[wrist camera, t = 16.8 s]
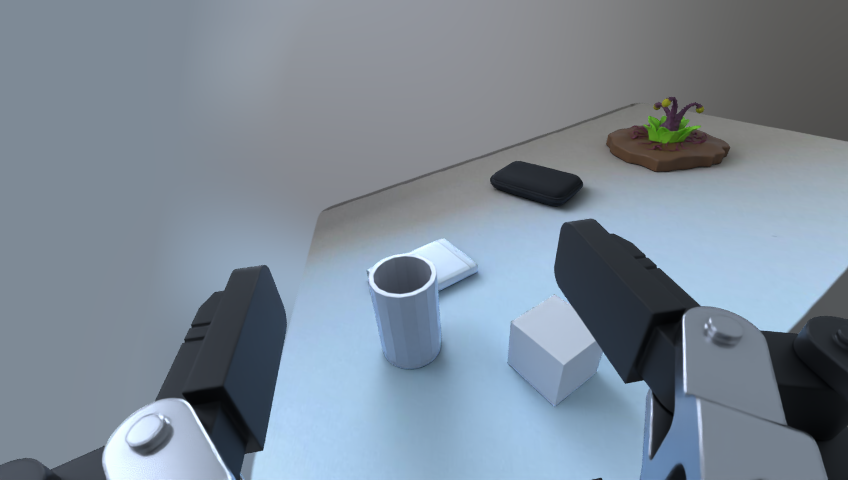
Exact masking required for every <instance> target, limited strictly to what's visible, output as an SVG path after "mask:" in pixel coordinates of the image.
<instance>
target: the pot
mask: <svg viewBox="0 0 848 480" xmlns="http://www.w3.org/2000/svg"><path fill="white" fill-rule="evenodd" d="M368 278H369V287H370V292H371V297H372V302H373V306H374V311H375V316H376V321H377V326H378V331H379V336H380V340H381V345H382V350H383V353H384V355H385V357H386V359H387V360H388V361H389V362H390V363H391V364H393V365H395V366H397V367H399V368H403V369H416V368H420V367H423V366H425V365H427V364H429V363H430V362H432V361H433V360H434V359H435V358H436V357H437V355H438V353H439V352H440V349H441V324H440V310H439V295H438V280H437V271H436V268H435V265H434V264H433V263H432V262H431V261H430V260H429V259H428V258H425V257H423V256H420V255H417V254H407V253H404V254H398V255H392V256H390V257H387V258H385V259H383V260H381V261H379V262H378V263H377V264H376V265H375V266H373V268H372V270H371V271H370V273H369V275H368Z"/></svg>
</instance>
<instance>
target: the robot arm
mask: <svg viewBox="0 0 848 480" xmlns="http://www.w3.org/2000/svg"><path fill="white" fill-rule="evenodd" d="M554 273H555V278H556V281H557V284H558V286H559V288H560V289H561V291H562V292H563V294H564V295H565V297H566V298H567V300H568V301H569V302H570V304H571V305H572V307H573V308H574V310H575V311H576V313H577V314H578V316H579V317H580V319H581V320H582V321H583V323H584V324H585V326H586V327H587V329H588V330H589V332H590V333H591V335H592V336H593V337H594V339H595V340H596V342H597V343H598V345H599V346H600V348H601V349H602V351H603V352H604V354H605V355H606V356H607V358H608V359H609V361H610V362H611V364H612V365H613V367H614V368H615V370H616V371H617V372H618V374H619V375H620V377H621V378H622V380H623V381H624V383H625V384H626V383H632V382H637V381H642V380H644V381H645V382H646V383H647V385H648V386H649V387H650V389H649V391H648V393H647V397H646V412H645V427H644V443H643V459H642V469H641V475H640V479H639V480H848V428H847V427H846V426H847V425H848V319H843V318H838V317H832V316H820V317H815V318H812V319H810V320H809V321H808V322H807V324H806V325H805V326H804V328H803V329H802V330H801V332H800V333H799V334H793V333H783V332H772V331H760V330H759V329H758V328H757V327H755V326H754V325H753V324H752V323H750V322H749V321H748V320H746V319H744V318H743V317H741V316H739V315H737V314H735V313H732V312H730V311H727V310H724V309H720V308H716V307H708V306H700V305H699V304H698V303H697V302H696V301H695V300H694V299H693V298H691V297H690V296H689V295H688V294H687V293H686V292H685V291H684V290H683V289H682V288H681V287H679V286H678V285H677V284H676V283H675V282H674V281H673V280H672V279H671V278H670V277H669V276H668V275H666V274H665V273H664V272H663V271H662V270H661V269H660V268H657V265H656V264H654V263H653V262H652V261H651V260H650V259H649V258H646V257H645V254H644V253H642V252H641V251H640V250H639V249H638V248H637V247H636V246H635V245H634V244H633V243H631V242H629V241H627V240H625V239H623V238H621V237H619V236H617V235H616V234H609V233H608V232H607V231H606V230H605V229H604V228H603V227H602V226H601V225H600V224H599V223H598V222H597V221H596V220H594V219H585V220H579V221H572V222H565V223H564V224H563V225H562V227H561V231H560V236H559V242H558V248H557V254H556V260H555V266H554ZM286 323H287V322H286V313H285V309H284V306H283V303H282V300H281V298H280V295H279V293H278V290H277V287H276V285H275V282H274V280H273V277H272V275H271V272H270V270H269V268H268V267H267V266H266V265H261V266H255V267H247V268H240V269H235V270H233V272H232V274H231V276H230V278H229V281H228V283H227V286H226V288H225V290H224V291H219V292H215V293H213V294H212V295H211V297H210V298H209V299H208V300H207V301H206V302H205V303H204V304H203V305H202V306H201V307H200V308H199V310H198V312H197V314H196V316H195V318H194V320H193V322H192V324H191V326H192V328H190V329H189V331H188V333H187V335H186V337H185V339H184V340H185V343H182V345H181V347H180V350H179V352H178V354H177V356H176V358H175V360H174V362H173V364H172V366H171V369H170V371H169V373H168V375H167V377H166V379H165V381H164V383H163V385H162V388H161V389H160V392H159V394H158V396H157V398H156V400H155V402H152V403H150V404H148V405H146V406H144V407H143V408H141V409H139V410H138V411H136V412H135V413H134V414H132V415H131V416H129V417H128V418H127V419H126V420H125V421H124V422H123V423H122V424H121V425H120V426H119V427H118V428H117V429H116V430H115V431H114V433H113V434H112V435H111V437H110V438H109V440H108V442H107V444H106V445H105V446H103V447H101V448H99V449H96V450H94V451H92V452H90V453H87V454H85V455H83V456H81V457H78V458H76V459H74V460H71V461H69V462H67V463H65V464H62V465H61V466H58V467H56V468H53V469H51V470H50V469H49V468H47V467H46V466H44V465H43V464H42V463H40V462H39V461H37V460H35V459H31V458H23V459H17V460H13V461H10V462H7V463H5V464H2V465H0V480H245V479H244V477H243V476H242V474H241V473H240V472H241V467H242V463H243V459H244V455H245V454H247V453H252V452H258V451H263V448H264V443H265V438H266V433H267V427H268V422H269V417H270V412H271V407H272V401H273V396H274V391H275V386H276V381H277V376H278V370H279V365H280V360H281V355H282V350H283V344H284V339H285V334H286V327H287V324H286ZM593 480H602V478H597V479H593Z"/></svg>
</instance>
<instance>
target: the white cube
mask: <svg viewBox="0 0 848 480" xmlns="http://www.w3.org/2000/svg"><path fill="white" fill-rule="evenodd" d="M602 352H603V351H602V349H601V348H600V346H599V345H598V343H597V342H596V340H595V339H594V337H593V336H592V335H591V333H590V332H589V330H588V329H587V327H586V326H585V324H584V323H583V321H582V320H581V319H580V317H579V316H578V314H577V313H576V311H575V310H574V308H573V307H572V306H571V305H570V304H569V303H567V302H566V301H564V300H563V299H561V298H560V297H558V296H557V295H555V294H554V295H553V296H551V297H549V298H548V299H546V300H545V301H543V302H541V303H540V304H538V305H537V306H535V307H533V308H532V309H530V310H529V311H527V312H525V313H524V314H522V315H521V316H519V317H517V318H516V319H514V320H513V321H511V326H510V338H509V350H508V362H507V363H508V364H509V365H510V366H511V367H513V368H514V369H515V370H516V371H517V372H518V373H519V374H520V375H521V376H522V377H523V378H524V379H525V380H526V381H527V382H529V383H530V384H531V385H532V386H533V387H534V388H535V389H536V390H537V391H538V392H539V393H540V394H541V395H542V396H543V397H545V398H546V399H547V400H548V401H549V402H550V403H551V404H552V405H553V406H554V407H555V406H556V405H557V404H559V403H560V402H561V401H562V400H564V399H565V398H566V397H567V396H569V395H570V394H571V393H572V392H573V391H575V390H576V389H577V388H578V387H580V386H581V385H582V384H583V383H584V382H586V381H587V380H588V379H589V378H591V377H592V376H593V375H594V374H595V373H596V372H597V369H598V366H599V362H600V359H601V356H602Z"/></svg>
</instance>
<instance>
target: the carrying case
mask: <svg viewBox="0 0 848 480" xmlns="http://www.w3.org/2000/svg"><path fill="white" fill-rule="evenodd" d="M490 182H491V184H492V185H493V186H494V187H495V188H497V189H499V190H502V191H505V192H508V193H512V194H515V195H518V196H521V197H524V198H527V199H531V200H534V201H537V202H541V203H544V204H547V205H551V206H559V205H562V204H563V203H565V202H566V201H567V200H569V199H570V198H571V197H572V196H573V195H574V194H576V193H577V192H578V191H579V190H580V189H581V188H582V187H583V182H582V180H581V179H580V178H579V177H578V176H577V175H574V174H570V173H566V172H562V171H559V170H555V169H551V168H547V167H543V166H539V165H536V164H530V163H526V162H521V161H515V162H512V163H511V164H509V165H507V166H506V167H504V168H503V169H501V170H499V171H498V172H496V173H495V174H494V175H493V176H492V177H491V178H490Z"/></svg>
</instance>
